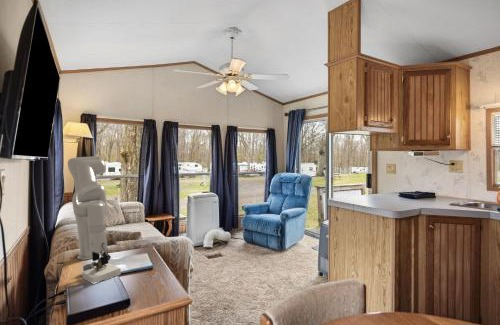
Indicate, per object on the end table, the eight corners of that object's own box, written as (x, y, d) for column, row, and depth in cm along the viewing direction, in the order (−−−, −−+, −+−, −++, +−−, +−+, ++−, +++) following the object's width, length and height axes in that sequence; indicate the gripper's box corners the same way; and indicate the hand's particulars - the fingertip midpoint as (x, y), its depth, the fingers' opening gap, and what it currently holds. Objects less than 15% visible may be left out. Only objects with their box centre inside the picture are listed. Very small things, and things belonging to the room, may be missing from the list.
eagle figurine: (108, 269, 145) (114, 259, 153) (98, 258, 143) (105, 249, 152) (96, 277, 145) (103, 267, 154) (85, 267, 143) (93, 257, 152)
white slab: (82, 277, 146) (82, 272, 146) (109, 268, 156) (108, 263, 156) (93, 284, 138) (93, 278, 138) (120, 274, 148) (120, 268, 148)
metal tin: (82, 273, 152) (81, 266, 152) (92, 270, 156) (91, 263, 155) (86, 276, 148) (85, 268, 148) (96, 272, 152) (95, 264, 152)
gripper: (82, 227, 149) (85, 261, 150) (97, 232, 138) (100, 268, 139) (97, 224, 155) (100, 256, 155) (113, 228, 143) (116, 263, 144)
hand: (100, 262), depth 147 cm, fingers open, 9 cm apart
